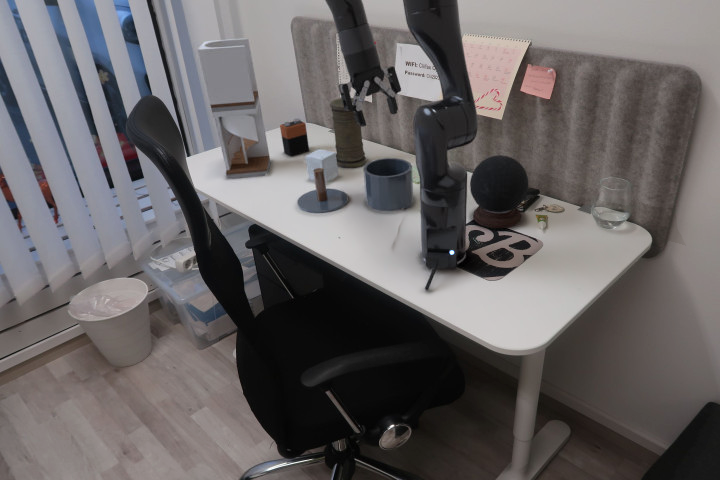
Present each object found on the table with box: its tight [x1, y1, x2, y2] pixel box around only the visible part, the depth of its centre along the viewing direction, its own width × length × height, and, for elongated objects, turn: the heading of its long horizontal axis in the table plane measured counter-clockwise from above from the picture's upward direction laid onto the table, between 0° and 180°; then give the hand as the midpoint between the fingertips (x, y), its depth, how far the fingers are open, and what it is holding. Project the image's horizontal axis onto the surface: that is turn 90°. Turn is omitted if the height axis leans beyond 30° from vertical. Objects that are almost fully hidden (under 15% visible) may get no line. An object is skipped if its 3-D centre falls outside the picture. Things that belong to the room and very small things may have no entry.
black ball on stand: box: [469, 154, 529, 230], centre depth 128 cm, size 13×13×15 cm
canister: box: [362, 157, 414, 212], centre depth 138 cm, size 12×12×10 cm
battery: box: [279, 118, 310, 157], centre depth 170 cm, size 4×7×10 cm, turn 129°
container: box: [329, 97, 367, 169], centre depth 159 cm, size 9×9×18 cm
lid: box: [296, 168, 349, 214], centre depth 139 cm, size 13×13×9 cm
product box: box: [305, 148, 339, 183], centre depth 153 cm, size 6×6×7 cm
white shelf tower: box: [197, 37, 271, 180], centre depth 153 cm, size 11×11×35 cm
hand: (378, 119), depth 130 cm, fingers open, 8 cm apart
